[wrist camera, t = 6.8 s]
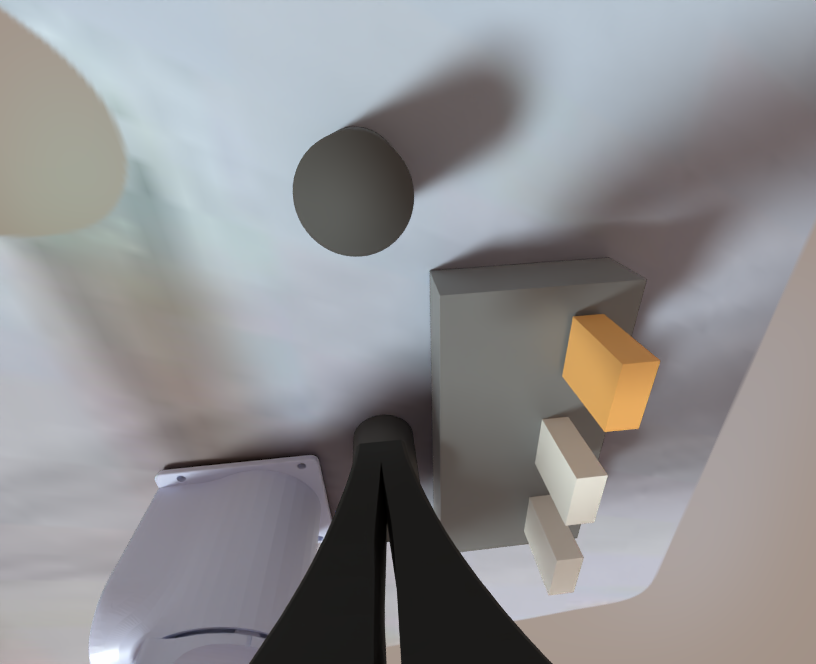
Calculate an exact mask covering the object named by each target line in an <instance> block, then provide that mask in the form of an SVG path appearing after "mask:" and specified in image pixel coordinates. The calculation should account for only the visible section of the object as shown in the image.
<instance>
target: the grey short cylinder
mask: <svg viewBox="0 0 816 664" xmlns="http://www.w3.org/2000/svg"><path fill="white" fill-rule="evenodd" d="M392 440H402V441H404V442H405V445H406V449H407V453H408V456H409V459H410V461H411V464H412V467H413V469H414V471H415V474H416V476H417V478H418V480H419V473H418V467H417V460H416V453H415V446H414V440H413V433H412V429H411V427H410V426H409V425H408V424H407V423H406V422H405V421H404V420H402V419H401V418H398V417H395V416H391V415H379V416H374V417H371V418H369V419H367V420H365V421H364V422H362V423H361V424H360V425H359V426H358V427H357V429H356V431H355V433H354V440H353V461H354V457H355V452H356V447H357V446H358V445H359V444H361V443H371V442H382V441H392ZM419 483H420V480H419ZM387 542H390V540H389V533H388V526H387Z"/></svg>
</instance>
